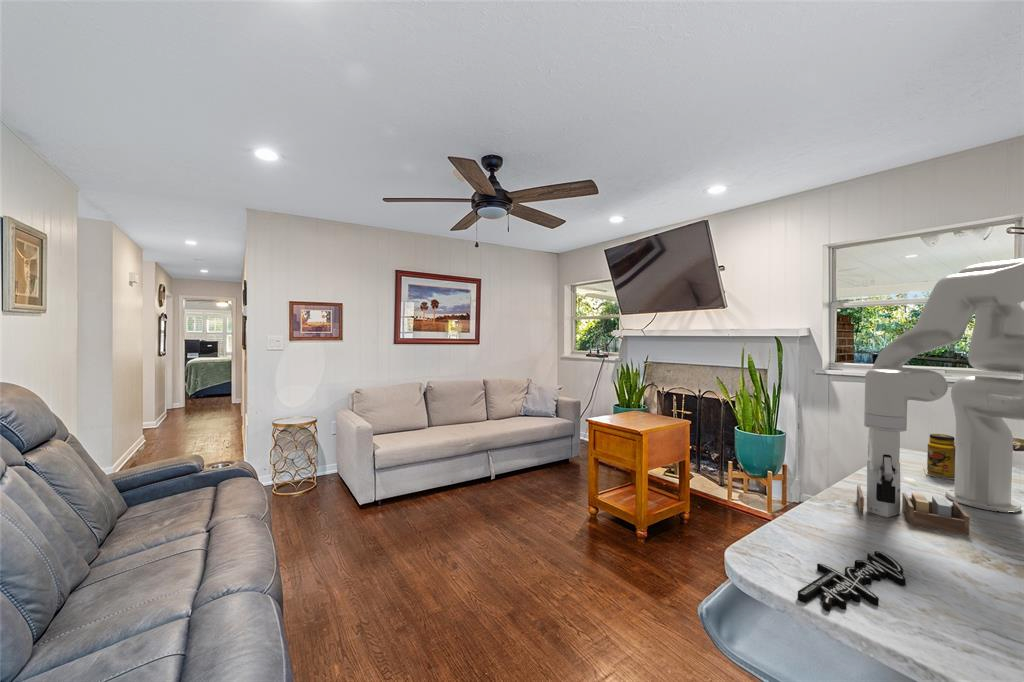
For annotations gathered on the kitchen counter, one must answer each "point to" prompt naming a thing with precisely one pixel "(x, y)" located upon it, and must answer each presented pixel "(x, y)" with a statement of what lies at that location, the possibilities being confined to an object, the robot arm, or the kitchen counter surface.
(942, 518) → the walnut rack
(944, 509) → the slate offcut
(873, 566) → the nameplate
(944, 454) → the condiment
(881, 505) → the skincare box
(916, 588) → the kitchen counter surface
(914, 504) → the oak offcut
